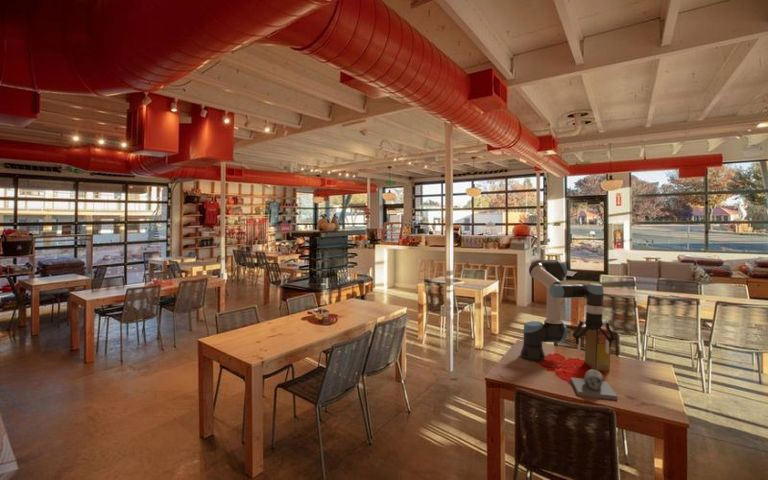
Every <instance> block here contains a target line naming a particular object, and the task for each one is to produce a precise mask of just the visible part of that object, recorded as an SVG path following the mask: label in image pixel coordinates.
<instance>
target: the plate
mask: <svg viewBox="0 0 768 480" xmlns="http://www.w3.org/2000/svg"><path fill="white" fill-rule="evenodd" d="M570 382H571V384H572V387H573V388H574V391H575V392H576V394H577V396H578V397H579V396H580V397H588V398H598V399H606V400H613V401H618V395H617V393H616V392H615V390H613V388H612V386H611V385H610V384H609V382H608V381H607V380H603V382H602V385H601V387H600V388H599V389H598V390H593V389H591V388H589V387H588V386H587V385H586V384H585V382H584V378H582V377H581V378H579V377H572V376H571V377H570Z"/></svg>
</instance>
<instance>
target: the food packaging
mask: <svg viewBox="0 0 768 480" xmlns="http://www.w3.org/2000/svg"><path fill="white" fill-rule="evenodd" d="M601 328H602V330H603V331H604V332H605V333H606V334H607V335H608V337H609V338H611V336H610V335H609V333H608V331H607V329H606V327H605V326H604V325H603V326H602V327H601ZM606 340H608V339H607V338H606V337H605V336H604V335H603V333H602V332H601V331H600V330H590V329H589V330H588V331H586V332H585V345H584V348H585V349H584V352H585V353H584V364H586V365H587V366H589V367H590V368H591V369H594V370H597V371H599V372H600V371H609V372H611V371H610V368H611V367H610V366H611V348H612V346H611V347H609V354H607V353H606Z"/></svg>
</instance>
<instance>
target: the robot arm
mask: <svg viewBox="0 0 768 480" xmlns="http://www.w3.org/2000/svg"><path fill="white" fill-rule="evenodd" d="M528 274H529V275H530V277H532V279H534V280H536V281H539V282H540V283H541V284H543V285H544V286H545V287H546V318H545V319H544V321H543V322H541V321H535V320H532V321H527V322H526V323H524V325H523V330H522V331H523V345H522V348H521V351H520V353H519V354H520V357H521V359H523V360H525V361H528V362H529V361H530V362H537V363H539V362H543V361H545V360H546V355H545V351H544V348H543V343H563V342H565V341H566V340H567V337H568V329H567V328H568V327H567V325H566V324H565V323H564V321H563V320H562V303H561V302H562V299H564V298H565V299H570V298H571V299H572V298H573V299H579V298H580V299H586V307H585V308H586V310H585V311H586V313H585V316H586V317H585V320H582V319H580V320H578V321H579V322H578V325H576V327H575V330H574V331H573V332H572V337H573V338H575V344H576V345H577V351H578V352H581V344H582V343H581V340H582V339H581V337H582V336H583V335H584V334H586V331H588V330H589V329H590V330H600V331H601V332H602V333H603V335H604V336H605V337H606V338H607V339H608V340H606V353H607V354H609V347H611V348H612V342H613V341H616V338H615V336H614V334H613V332H612V330H611V327H610V324H609V322H608V321H605V322H603V305H604V293H605V292H604V286H603V284H601V283H595V282H591V283H585V282H578V283H575V284H574V283H569V284H568V283H563V282H564V279H565V278H567V276H568V268H567V265H566V264H565V262H564V261H563V260H560V259H538V260H535V261H533V262H532V263H530V265H529V267H528ZM584 325H585V326H584ZM583 326H584V327H583ZM602 326H604V327H605V328H606V329H607V331H608V333H609V335H610V336H611V338H609V337H608V335H607V334H606V333H605V332H604V331H603V330H602V328H601V327H602ZM582 327H583V329H582Z"/></svg>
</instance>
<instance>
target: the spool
mask: <svg viewBox="0 0 768 480" xmlns="http://www.w3.org/2000/svg"><path fill="white" fill-rule="evenodd" d="M583 379H584V382H585V384H586V385H587V386H588V387H589V388H591V389H593V390H598V389H599V388H600V387H601V385H602V382H603V381H604V376H603V374H602V373H601V372H600V371H597V370H594V369H593V368H591V369H589V370H587V371H586V372H585V373H584V376H583Z"/></svg>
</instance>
